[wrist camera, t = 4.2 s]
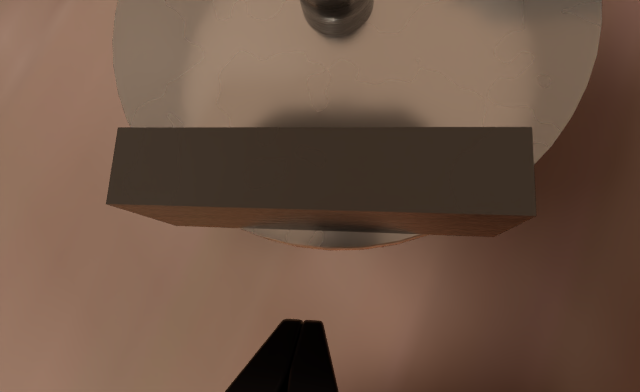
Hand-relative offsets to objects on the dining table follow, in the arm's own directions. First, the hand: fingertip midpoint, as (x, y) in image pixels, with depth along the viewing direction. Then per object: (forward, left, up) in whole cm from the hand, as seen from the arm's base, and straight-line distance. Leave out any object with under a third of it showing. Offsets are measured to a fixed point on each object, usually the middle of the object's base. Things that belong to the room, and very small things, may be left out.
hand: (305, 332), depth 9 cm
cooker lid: (+9, 0, -2) cm, 9 cm away
